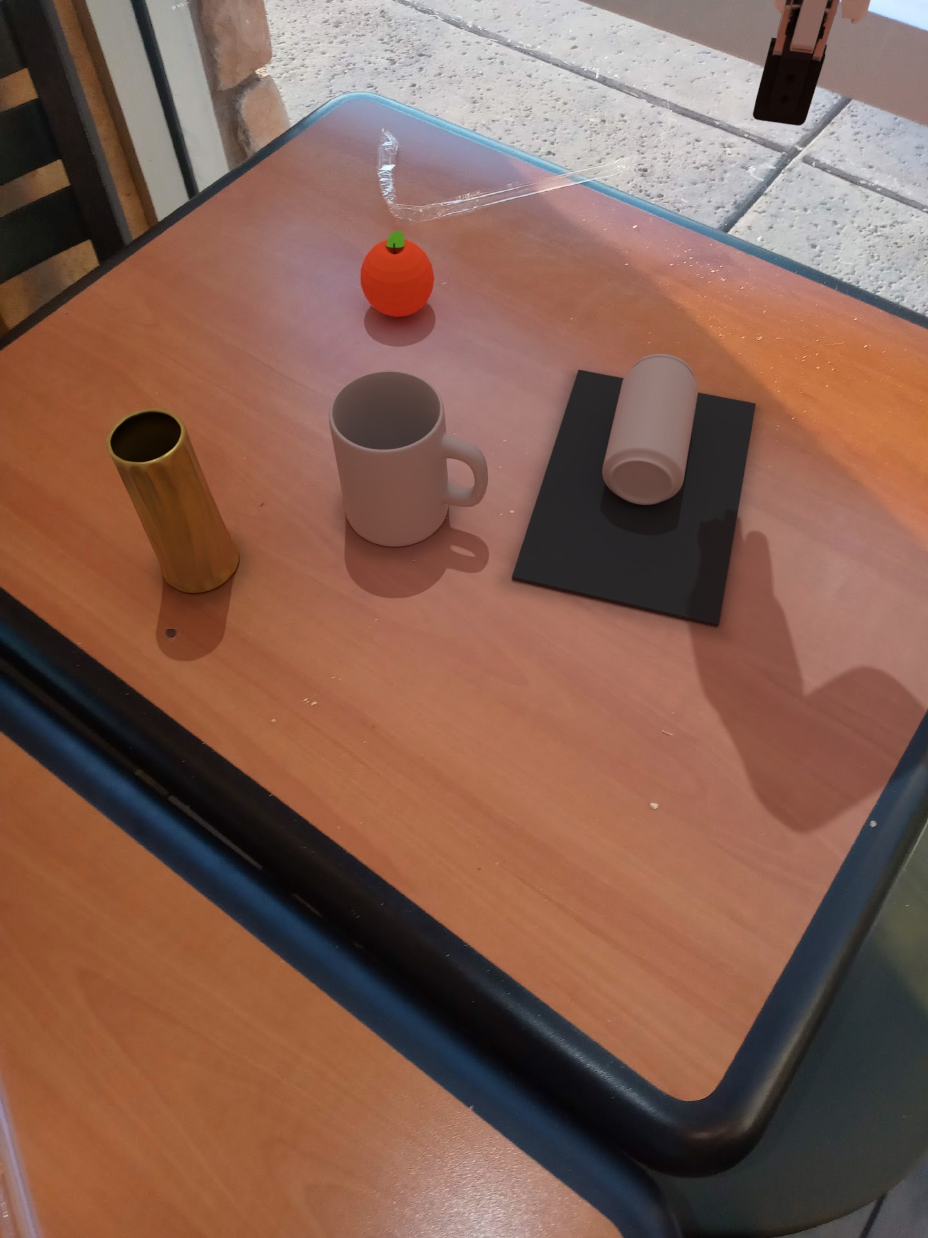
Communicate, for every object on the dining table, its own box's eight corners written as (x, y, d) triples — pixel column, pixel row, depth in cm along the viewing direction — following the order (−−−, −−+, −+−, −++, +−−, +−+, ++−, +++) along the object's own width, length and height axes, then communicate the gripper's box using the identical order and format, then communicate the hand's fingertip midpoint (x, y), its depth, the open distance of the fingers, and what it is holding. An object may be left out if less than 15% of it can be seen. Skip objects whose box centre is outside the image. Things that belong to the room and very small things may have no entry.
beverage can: (586, 465, 71) (611, 361, 77) (621, 516, 75) (642, 414, 81) (662, 446, 67) (682, 339, 74) (695, 501, 71) (711, 395, 78)
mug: (329, 533, 73) (308, 437, 64) (368, 457, 78) (353, 358, 68) (470, 570, 71) (469, 477, 62) (502, 491, 76) (506, 392, 66)
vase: (150, 589, 71) (84, 464, 59) (176, 527, 74) (118, 397, 62) (226, 599, 70) (174, 475, 58) (248, 536, 73) (204, 406, 61)
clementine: (368, 277, 91) (361, 212, 85) (438, 279, 90) (435, 213, 84) (360, 331, 86) (352, 267, 80) (433, 333, 86) (430, 268, 80)
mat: (717, 627, 68) (719, 624, 68) (511, 579, 71) (511, 576, 70) (754, 406, 81) (755, 403, 80) (578, 372, 83) (578, 369, 83)
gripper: (982, -231, 37) (831, 193, 52) (978, -333, 44) (848, 64, 60) (793, -246, 38) (700, 173, 53) (821, -343, 45) (733, 49, 61)
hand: (778, 115), depth 56 cm, fingers closed
